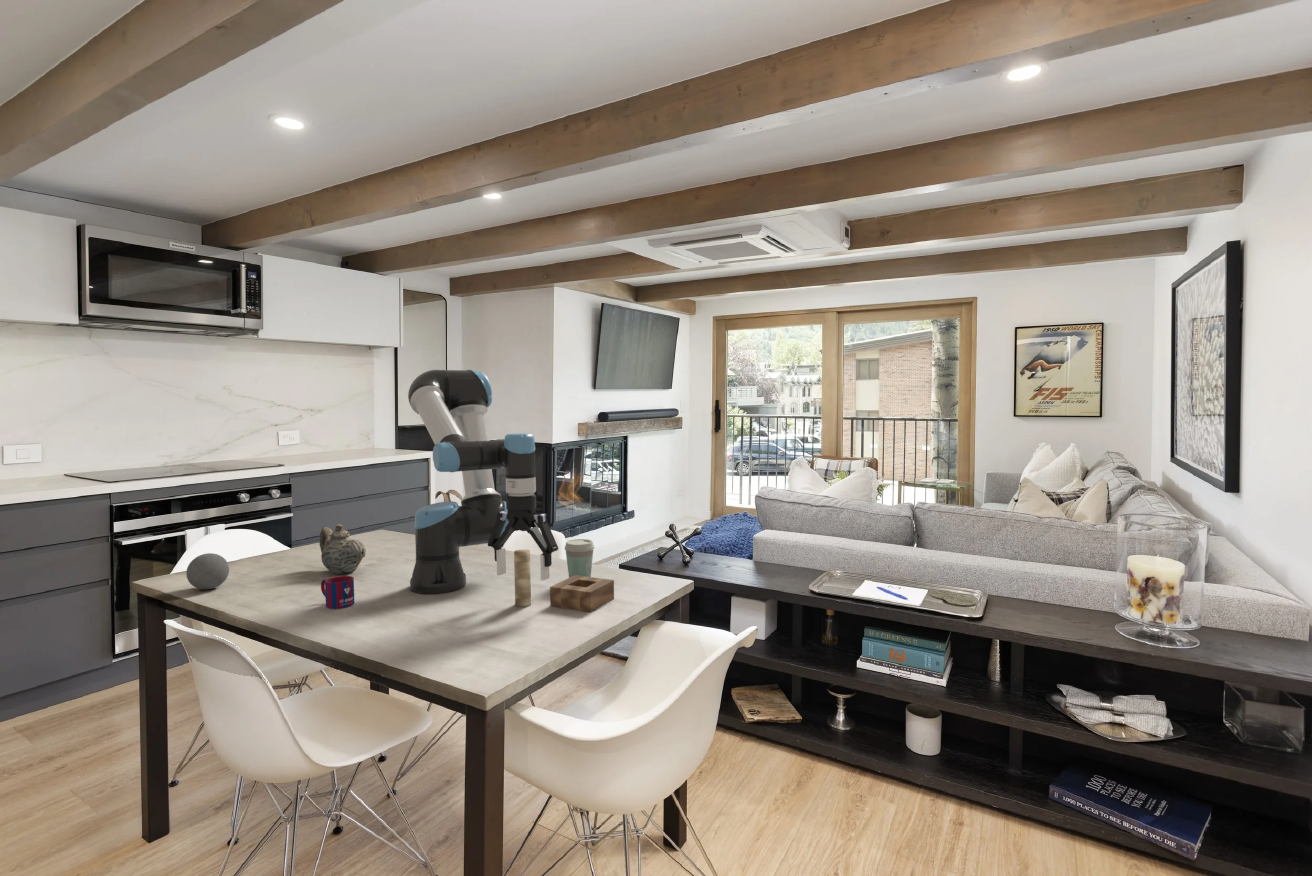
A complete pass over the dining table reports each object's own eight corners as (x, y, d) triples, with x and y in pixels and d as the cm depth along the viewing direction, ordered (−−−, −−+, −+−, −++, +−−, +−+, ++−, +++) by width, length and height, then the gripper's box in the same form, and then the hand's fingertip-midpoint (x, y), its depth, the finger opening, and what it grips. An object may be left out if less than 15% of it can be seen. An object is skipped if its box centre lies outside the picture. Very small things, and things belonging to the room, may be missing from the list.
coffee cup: (589, 588, 185) (589, 545, 184) (560, 586, 186) (560, 544, 186) (598, 579, 193) (598, 539, 192) (570, 578, 195) (570, 538, 194)
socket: (550, 605, 169) (549, 586, 169) (575, 593, 180) (575, 575, 180) (590, 612, 164) (590, 592, 164) (614, 598, 175) (613, 580, 175)
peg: (511, 606, 169) (510, 552, 168) (521, 601, 173) (520, 548, 172) (524, 608, 168) (523, 553, 167) (534, 603, 171) (533, 550, 170)
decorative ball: (209, 583, 192) (207, 549, 192) (238, 584, 190) (236, 550, 190) (178, 593, 182) (176, 557, 182) (208, 595, 180) (206, 558, 180)
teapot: (379, 572, 203) (377, 523, 202) (344, 581, 193) (342, 530, 192) (338, 563, 214) (336, 517, 213) (303, 571, 205) (301, 523, 204)
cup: (335, 610, 166) (334, 584, 166) (313, 604, 172) (312, 578, 171) (359, 603, 172) (359, 577, 172) (337, 597, 177) (336, 572, 177)
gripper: (472, 493, 170) (474, 575, 171) (553, 498, 160) (555, 585, 161) (491, 490, 177) (493, 568, 178) (570, 494, 167) (572, 577, 168)
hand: (523, 576), depth 169 cm, fingers open, 13 cm apart
